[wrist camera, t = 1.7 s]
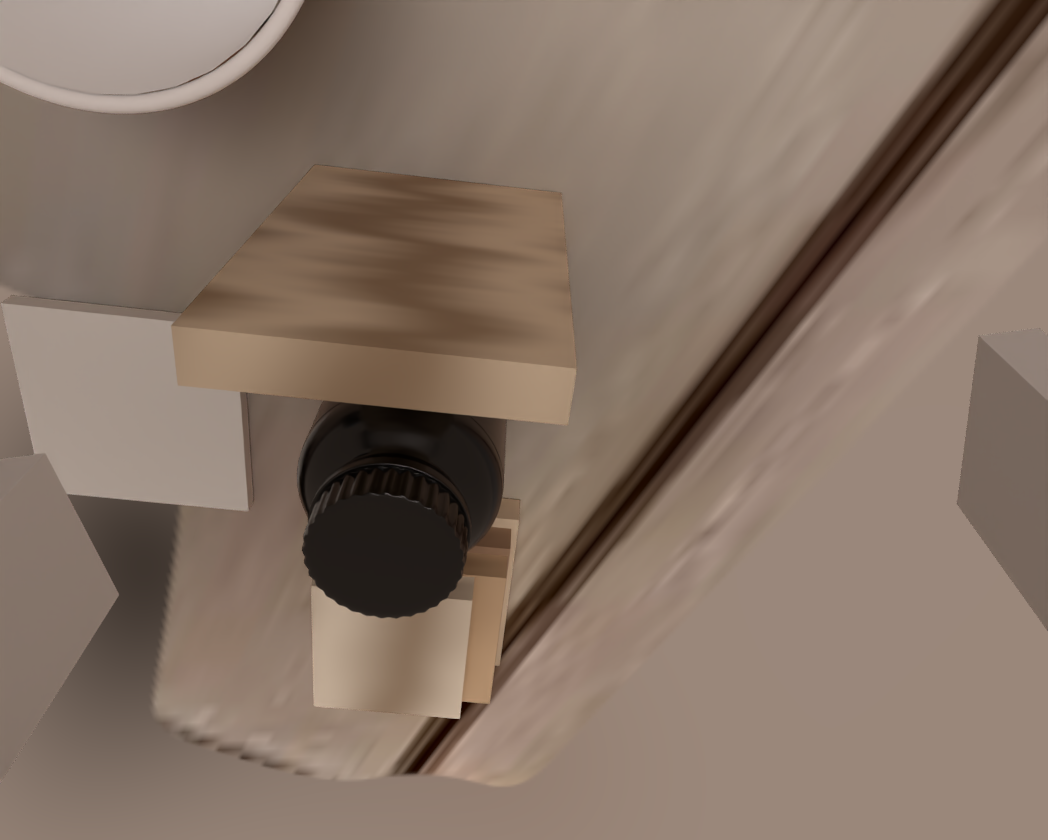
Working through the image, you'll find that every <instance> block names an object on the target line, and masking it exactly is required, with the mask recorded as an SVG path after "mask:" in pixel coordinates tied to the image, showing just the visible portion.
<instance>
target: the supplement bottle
mask: <svg viewBox="0 0 1048 840" xmlns="http://www.w3.org/2000/svg"><path fill="white" fill-rule="evenodd" d="M506 423H507V419H500V418H490V417H480V416H471V415H461V414H451V413H441V412H432V411H422V410H412V409H402V408H393V407H383V406H373V405H363V404H354V403H344V402H334V401H324V400H323V402H322V404H321V406H320V409H319V411H318V413H317V415H316V418H315V420H314V422H313V425H312V427H311V429H310V431H309V434H308V436H307V438H306V441H305V443H304V445H303V448H302V451H301V454H300V458H299V462H298V468H297V485H298V492H299V496H300V500H301V503H302V506H303V508H304V510H305V513H306V515H307V517H308V524H307V526H306V529H305V532H304V543H303V546H302V551H303V554H304V556H305V559H304V564H305V565H306V566H307V568H308V569H309V576H310V577H311V578H312V579H314V580H315V584H316V586H317V587H318V588H319V589H321V590H323V591H324V593H325V595H326V596H327V597H329V598H331V599H333V600H334V601H335V602H336V603H337V604H338V605H340V606H344V607H346V608H348V609H349V610H350V611H352V612H360V613H361V614H363V615H365V616H376V617H378V618H387V617H390V618H395V619H397V618H400V617H403V616H405V617H411V616H413V615H415V614H417V613H425V612H426V611H427V610H428V609H429V608H433V607H437V606H438V605H439V603H440V602H441V601H442V600H445V599H447V598H448V596H449V594H450V592H451V591H453V590H455V589H456V587H457V584H458V581H459V580H460V579H461V578H462V576H463V572H464V566H465V564H466V559H467V552H468V551H470V550H471V549H472V548H473V547H475V546H476V545H477V544H478V543H479V542H480V541H481V540H482V539H483V538H484V536H485V535H486V534H487V532H488V531H489V530H490V528H491V526H492V525H493V523H494V521H495V519H496V517H497V515H498V512H499V509H500V506H501V500H502V495H503V486H504V467H505V445H506Z"/></svg>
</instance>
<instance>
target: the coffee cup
mask: <svg viewBox="0 0 1048 840" xmlns="http://www.w3.org/2000/svg"><path fill="white" fill-rule="evenodd" d="M303 2H304V0H0V82H1V83H3V84H5V85H7V86H10V87H12V88H14V89H16V90H19V91H21V92H23V93H26V94H28V95H31V96H33V97H36V98H39V99H42V100H45V101H48V102H51V103H54V104H58V105H62V106H65V107H69V108H74V109H79V110H84V111H91V112H98V113H109V114H142V113H151V112H159V111H164V110H169V109H173V108H177V107H181V106H185V105H188V104H190V103H193V102H196V101H199V100H201V99H204V98H206V97H208V96H210V95H213V94H214V93H216V92H218V91H220V90H222V89H224V88H226V87H227V86H229V85H230V84H232V83H233V82H235V81H237V80H238V79H239V78H241V77H242V76H243V75H245V74H246V73H247V72H249V71H250V70H251V69H252V68H253V67H254V66H256V65H257V64H258V63H259V62H260V61H261V60H262V59H263V58H264V57H265V56H266V55H267V54H268V53H269V52H270V51H271V50H272V49H273V47H274V46H275V45H276V44H277V43H278V41H279V40H280V39H281V38H282V36H283V35H284V33H285V32H286V31H287V29H288V28H289V27H290V25H291V23H292V22H293V20H294V18H295V17H296V15H297V14H298V12H299V10H300V8H301V6H302V4H303ZM208 72H209V73H208ZM205 73H207V74H206V75H204V76H202V75H203V74H205ZM201 76H202V77H201ZM187 81H188V83H186V84H183V83H185V82H187ZM180 84H183V85H180ZM178 85H180V86H178ZM176 86H177V87H176ZM167 88H170V89H167ZM162 89H166V90H162ZM157 90H162V91H157ZM151 91H157V92H152V93H146V92H151ZM141 93H144V94H141ZM107 94H120V95H107Z"/></svg>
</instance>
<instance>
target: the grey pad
mask: <svg viewBox="0 0 1048 840" xmlns="http://www.w3.org/2000/svg"><path fill="white" fill-rule="evenodd" d="M1 307H2V311H3V315H4V320H5V325H6V329H7V334H8V338H9V343H10V347H11V351H12V356H13V360H14V365H15V370H16V374H17V379H18V383H19V387H20V392H21V397H22V401H23V406H24V410H25V415H26V419H27V424H28V428H29V433H30V437H31V442H32V446H33V451H34V454H42V453H46V455H47V457H48V459H49V461H50V463H51V465H52V467H53V469H54V471H55V472H56V474H57V476H58V478H59V480H60V482H61V484H62V486H63V488H64V490H65V492H66V494H73V495H84V496H95V497H104V498H115V499H125V500H135V501H147V502H156V503H166V504H177V505H187V506H198V507H208V508H218V509H229V510H239V511H249V509H250V507H251V505H252V503H253V501H254V499H253V484H252V469H251V453H250V438H249V422H248V407H247V393H246V392H237V391H227V390H217V389H207V388H198V387H188V386H178V383H177V375H176V366H175V357H174V348H173V339H172V330H171V325H172V324H173V323H174V322H175V321H176V320H177V319H178V317H179V316H180V315H181V314H182V313H174V312H165V311H156V310H146V309H137V308H128V307H118V306H109V305H99V304H90V303H81V302H71V301H62V300H52V299H43V298H34V297H24V296H15V295H11V296H10V297H9V298H7V299H6V300H4V301H3V302H2V303H1Z"/></svg>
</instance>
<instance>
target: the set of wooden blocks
mask: <svg viewBox="0 0 1048 840" xmlns="http://www.w3.org/2000/svg"><path fill="white" fill-rule="evenodd" d="M171 330H172V339H173V348H174V357H175V366H176V375H177V383H178V386H188V387H198V388H207V389H217V390H227V391H237V392H246V393H256V394H266V395H276V396H285V397H295V398H305V399H315V400H324V401H334V402H344V403H354V404H363V405H373V406H383V407H393V408H402V409H412V410H422V411H432V412H441V413H451V414H461V415H471V416H480V417H490V418H500V419H510V420H519V421H529V422H539V423H549V424H558V425H568V421H569V415H570V409H571V403H572V397H573V391H574V384H575V378H576V372H577V363H576V352H575V340H574V329H573V318H572V307H571V295H570V284H569V273H568V262H567V250H566V239H565V228H564V217H563V205H562V194H561V193H557V192H549V191H540V190H531V189H523V188H514V187H505V186H497V185H488V184H479V183H471V182H462V181H453V180H444V179H436V178H427V177H418V176H410V175H401V174H392V173H384V172H375V171H366V170H358V169H349V168H340V167H332V166H323V165H314V166H313V167H312V168H311V169H310V170H309V172H308V173H307V174H306V175H305V176H304V177H303V178H302V179H301V181H300V182H299V183H298V184H297V185H296V186H295V187H294V188H293V190H292V191H291V192H290V193H289V194H288V195H287V196H286V197H285V199H284V200H283V201H282V202H281V203H280V204H279V205H278V206H277V207H276V209H275V210H274V211H273V212H272V213H271V214H270V215H269V216H268V218H267V219H266V220H265V221H264V222H263V223H262V224H261V225H260V227H259V228H258V229H257V230H256V231H255V232H254V233H253V234H252V236H251V237H250V238H249V239H248V240H247V241H246V242H245V243H244V244H243V246H242V247H241V248H240V249H239V250H238V251H237V252H236V253H235V255H234V256H233V257H232V258H231V259H230V260H229V261H228V262H227V264H226V265H225V266H224V267H223V268H222V269H221V270H220V271H219V273H218V274H217V275H216V276H215V277H214V278H213V279H212V280H211V282H210V283H209V284H208V285H207V286H206V287H205V288H204V289H203V290H202V292H201V293H200V294H199V295H198V296H197V297H196V298H195V299H194V301H193V302H192V303H191V304H190V305H189V306H188V307H187V308H186V310H185V311H184V312H183V313H182V314H181V315H180V316H179V317H178V319H177V320H176V321H175V322H174V323H173V324H172V325H171ZM519 515H520V500H515V499H505V498H502V500H501V506H500V509H499V512H498V515H497V517H496V519H495V521H494V523H493V525H492V526H491V528H490V530H489V531H488V532H487V534H486V535H485V536H484V538H483V539H482V540H481V541H480V542H479V543H478V544H477V545H476V546H475V547H473V548H472V549H471V550H470V551H468V552H467V559H466V564H465V566H464V572H463V576H462V578H461V579H460V580H459V581H458V584H457V587H456V589H455V590H453V591H451V592H450V594H449V596H448V598H447V599H445V600H442V601H441V602H440V603H439V605H438V606H437V607H433V608H429V609H428V610H427V611H426V612H425V613H417V614H415V615H413V616H411V617H405V616H403V617H400V618H397V619H395V618H390V617H387V618H378V617H376V616H365V615H363V614H361V613H360V612H352V611H350V610H349V609H348V608H346V607H344V606H340V605H338V604H337V603H336V602H335V601H334V600H333V599H331V598H329V597H327V596H326V595H325V593H324V591H323V590H321V589H319V588H318V587H317V586H316V584H315V580H314V579H313V581H312V584H311V609H312V651H313V694H314V706H316V707H327V708H339V709H350V710H362V711H374V712H385V713H397V714H409V715H420V716H432V717H444V718H455V719H460V711H461V702H462V701H464V702H475V703H487V704H490V697H491V689H492V681H493V677H494V669H495V665H498V666H500V658H501V651H502V644H503V636H504V629H505V622H506V614H507V607H508V600H509V592H510V585H511V578H512V570H513V563H514V556H515V549H516V541H517V534H518V527H519Z"/></svg>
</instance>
